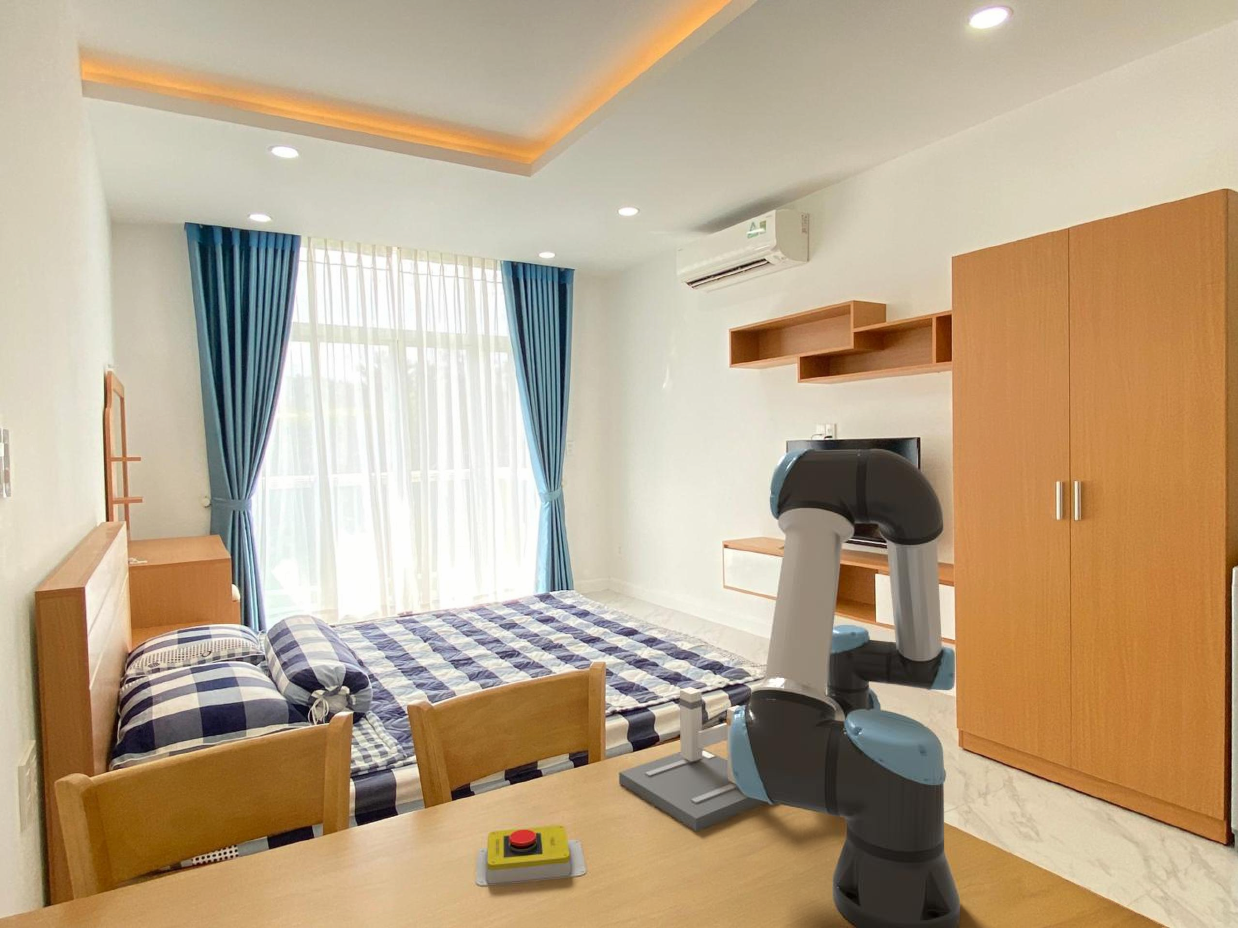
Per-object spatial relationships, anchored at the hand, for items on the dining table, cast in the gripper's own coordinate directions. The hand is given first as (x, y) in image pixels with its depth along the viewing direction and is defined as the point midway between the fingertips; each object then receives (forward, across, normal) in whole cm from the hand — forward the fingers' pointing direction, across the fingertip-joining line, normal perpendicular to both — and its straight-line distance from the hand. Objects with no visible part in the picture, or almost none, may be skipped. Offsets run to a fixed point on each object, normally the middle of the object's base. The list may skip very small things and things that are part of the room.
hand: (726, 753), depth 123 cm
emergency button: (+34, +4, -9) cm, 36 cm away
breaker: (-3, +12, -5) cm, 14 cm away
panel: (+1, +6, -8) cm, 10 cm away
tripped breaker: (-3, 0, -5) cm, 6 cm away
